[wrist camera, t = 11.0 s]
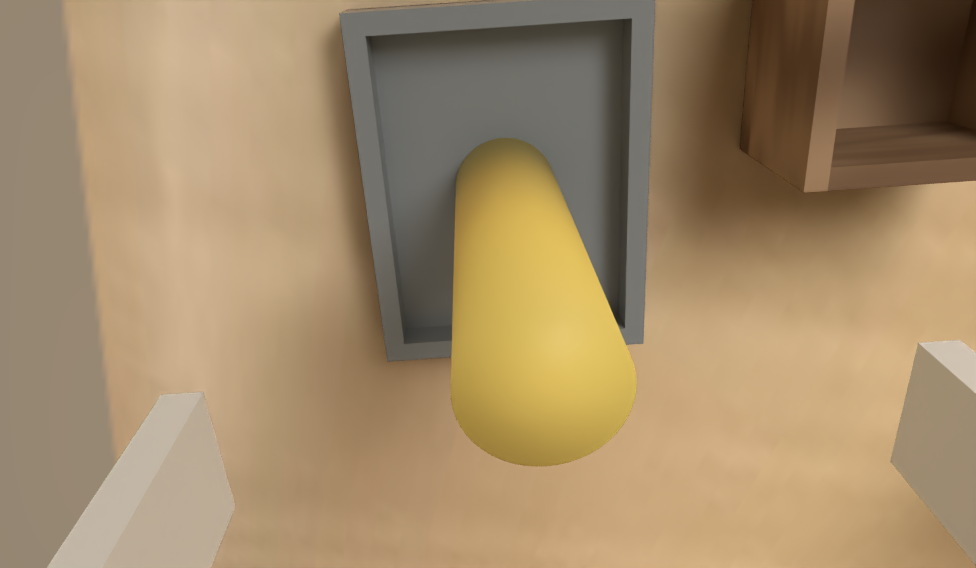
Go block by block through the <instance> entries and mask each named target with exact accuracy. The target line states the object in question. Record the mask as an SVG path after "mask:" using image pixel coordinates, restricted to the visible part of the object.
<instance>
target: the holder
mask: <svg viewBox="0 0 976 568" xmlns="http://www.w3.org/2000/svg"><path fill="white" fill-rule="evenodd" d="M740 149H741V150H742V151H744V152H745V153H747V154H748V155H749V156H751V157H752V158H754V159H755V160H757V161H758V162H760V163H761V164H763V165H764V166H766V167H767V168H768V169H770V170H771V171H773V172H774V173H776V174H777V175H779V176H780V177H782V178H783V179H785V180H786V181H788V182H789V183H790V184H792V185H793V186H795V187H796V188H798V189H799V190H801V191H802V192H819V191H833V190H847V189H862V188H876V187H891V186H905V185H919V184H934V183H948V182H963V181H976V0H753V2H752V13H751V25H750V36H749V47H748V59H747V70H746V81H745V93H744V104H743V115H742V127H741V138H740Z"/></svg>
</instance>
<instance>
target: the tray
mask: <svg viewBox="0 0 976 568" xmlns="http://www.w3.org/2000/svg"><path fill="white" fill-rule="evenodd" d="M339 15H340V22H341V30H342V37H343V44H344V51H345V59H346V66H347V73H348V80H349V87H350V95H351V102H352V109H353V116H354V123H355V131H356V138H357V145H358V152H359V159H360V167H361V174H362V181H363V188H364V196H365V203H366V210H367V217H368V224H369V232H370V239H371V246H372V253H373V260H374V268H375V275H376V282H377V289H378V297H379V304H380V311H381V318H382V325H383V333H384V340H385V347H386V354H387V361H388V362H390V361H404V360H418V359H432V358H446V357H451V356H452V316H453V276H454V237H455V197H456V178H457V174H458V171H459V168H460V166H461V164H462V162H463V161H464V159H465V158H466V157H467V155H468V154H469V153H470V152H471V151H472V150H473V149H475V148H476V147H477V146H479V145H481V144H483V143H485V142H487V141H490V140H493V139H498V138H514V139H519V140H522V141H525V142H527V143H529V144H531V145H533V146H534V147H535V148H537V149H538V150H539V151H540V152H541V153H542V154H543V155H544V156H545V158H546V159H547V161H548V162H549V164H550V166H551V169H552V171H553V173H554V176H555V178H556V181H557V183H558V185H559V188H560V190H561V192H562V195H563V197H564V199H565V202H566V204H567V207H568V209H569V211H570V214H571V216H572V218H573V221H574V223H575V225H576V228H577V230H578V233H579V235H580V237H581V240H582V242H583V244H584V247H585V249H586V251H587V254H588V256H589V259H590V261H591V263H592V266H593V268H594V270H595V273H596V275H597V277H598V280H599V282H600V285H601V287H602V289H603V292H604V294H605V296H606V299H607V301H608V303H609V306H610V308H611V311H612V313H613V315H614V318H615V320H616V322H617V325H618V327H619V329H620V332H621V334H622V337H623V339H624V341H625V344H626V345H629V344H643V337H644V309H645V280H646V252H647V223H648V194H649V166H650V137H651V109H652V80H653V52H654V23H655V0H484V1H469V2H455V3H440V4H425V5H410V6H395V7H380V8H365V9H350V10H346V11H344V12H342V13H339Z"/></svg>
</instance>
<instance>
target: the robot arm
mask: <svg viewBox="0 0 976 568" xmlns="http://www.w3.org/2000/svg"><path fill="white" fill-rule="evenodd" d="M890 462H891V463H892V464H893V465H894V467H895V468H896V469H897V470H898V472H899V473H900V474H901V475H902V476H903V478H904V479H905V480H906V481H907V483H908V484H909V485H910V486H911V487H912V489H913V490H914V491H915V492H916V493H917V495H918V496H919V497H920V498H921V500H922V501H923V502H924V503H925V504H926V506H927V507H928V508H929V509H930V511H931V512H932V513H933V514H934V515H935V517H936V518H937V519H938V520H939V521H940V523H941V524H942V525H943V526H944V528H945V529H946V530H947V531H948V532H949V534H950V535H951V536H952V537H953V539H954V540H955V541H956V542H957V543H958V545H959V546H960V547H961V548H962V549H963V551H964V552H965V553H966V554H967V556H968V557H969V558H970V559H971V560H972V562H973V563H974V564H975V565H976V353H975V352H974V351H973V350H972V349H970V348H969V347H968V346H967V345H965V344H964V343H963V342H962V341H960V340H952V341H938V342H923V343H918V346H917V350H916V355H915V359H914V363H913V367H912V372H911V376H910V380H909V384H908V389H907V393H906V397H905V401H904V406H903V410H902V414H901V418H900V423H899V427H898V431H897V435H896V440H895V444H894V448H893V452H892V457H891V461H890ZM234 509H235V503H234V500H233V496H232V493H231V489H230V485H229V482H228V478H227V475H226V471H225V468H224V464H223V460H222V457H221V453H220V450H219V446H218V443H217V439H216V436H215V432H214V428H213V425H212V421H211V418H210V414H209V411H208V407H207V403H206V400H205V396H204V393H203V392H193V393H179V394H164V395H161V396H160V398H159V399H158V401H157V402H156V404H155V405H154V407H153V408H152V410H151V411H150V413H149V414H148V416H147V417H146V419H145V420H144V422H143V423H142V425H141V426H140V428H139V429H138V431H137V432H136V434H135V435H134V437H133V438H132V440H131V441H130V443H129V444H128V446H127V447H126V449H125V450H124V452H123V453H122V455H121V456H120V458H119V459H118V461H117V462H116V464H115V465H114V467H113V469H112V470H111V472H110V473H109V474H108V476H107V477H106V479H105V481H104V482H103V484H102V485H101V487H100V488H99V490H98V491H97V493H96V494H95V496H94V497H93V499H92V500H91V502H90V503H89V505H88V506H87V508H86V509H85V511H84V512H83V514H82V515H81V517H80V518H79V520H78V521H77V523H76V524H75V526H74V527H73V529H72V531H71V532H70V533H69V535H68V536H67V538H66V540H65V541H64V542H63V544H62V545H61V547H60V548H59V550H58V552H57V553H56V555H55V556H54V558H53V559H52V561H51V562H50V564H49V565H48V567H47V568H211V567H212V564H213V562H214V559H215V557H216V554H217V552H218V549H219V547H220V544H221V542H222V539H223V537H224V534H225V532H226V529H227V527H228V524H229V522H230V519H231V517H232V514H233V512H234Z"/></svg>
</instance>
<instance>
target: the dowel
mask: <svg viewBox="0 0 976 568" xmlns="http://www.w3.org/2000/svg"><path fill="white" fill-rule="evenodd" d="M636 386H637V384H636V372H635V367H634V364H633V361H632V358H631V355H630V353H629V351H628V348H627V346H626V344H625V341H624V339H623V337H622V334H621V332H620V329H619V327H618V325H617V322H616V320H615V318H614V315H613V313H612V311H611V308H610V306H609V303H608V301H607V299H606V296H605V294H604V292H603V289H602V287H601V285H600V282H599V280H598V277H597V275H596V273H595V270H594V268H593V266H592V263H591V261H590V259H589V256H588V254H587V251H586V249H585V247H584V244H583V242H582V240H581V237H580V235H579V233H578V230H577V228H576V225H575V223H574V221H573V218H572V216H571V214H570V211H569V209H568V207H567V204H566V202H565V199H564V197H563V195H562V192H561V190H560V188H559V185H558V183H557V181H556V178H555V176H554V173H553V171H552V169H551V166H550V164H549V162H548V161H547V159H546V158H545V156H544V155H543V154H542V153H541V152H540V151H539V150H538V149H537V148H535V147H534V146H533V145H531V144H529V143H527V142H525V141H522V140H519V139H514V138H498V139H493V140H490V141H487V142H485V143H483V144H481V145H479V146H477V147H476V148H475V149H473V150H472V151H471V152H470V153H469V154H468V155H467V157H466V158H465V159H464V161H463V162H462V164H461V166H460V168H459V171H458V174H457V178H456V197H455V237H454V276H453V316H452V356H451V402H452V407H453V411H454V414H455V417H456V419H457V421H458V423H459V425H460V427H461V428H462V430H463V431H464V432H465V434H466V435H467V436H468V437H469V438H470V439H471V440H472V441H473V443H475V444H476V445H477V446H478V447H480V448H481V449H482V450H484V451H485V452H487V453H489V454H490V455H492V456H494V457H497V458H499V459H501V460H504V461H507V462H510V463H514V464H519V465H525V466H552V465H559V464H563V463H568V462H571V461H574V460H577V459H580V458H582V457H584V456H586V455H588V454H590V453H592V452H594V451H595V450H597V449H598V448H600V447H601V446H603V445H604V444H605V443H606V442H608V441H609V440H610V439H611V438H612V437H613V436H614V435H615V434H616V433H617V432H618V431H619V429H620V428H621V427H622V425H623V424H624V422H625V421H626V419H627V417H628V416H629V413H630V411H631V409H632V406H633V403H634V399H635V395H636Z"/></svg>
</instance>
